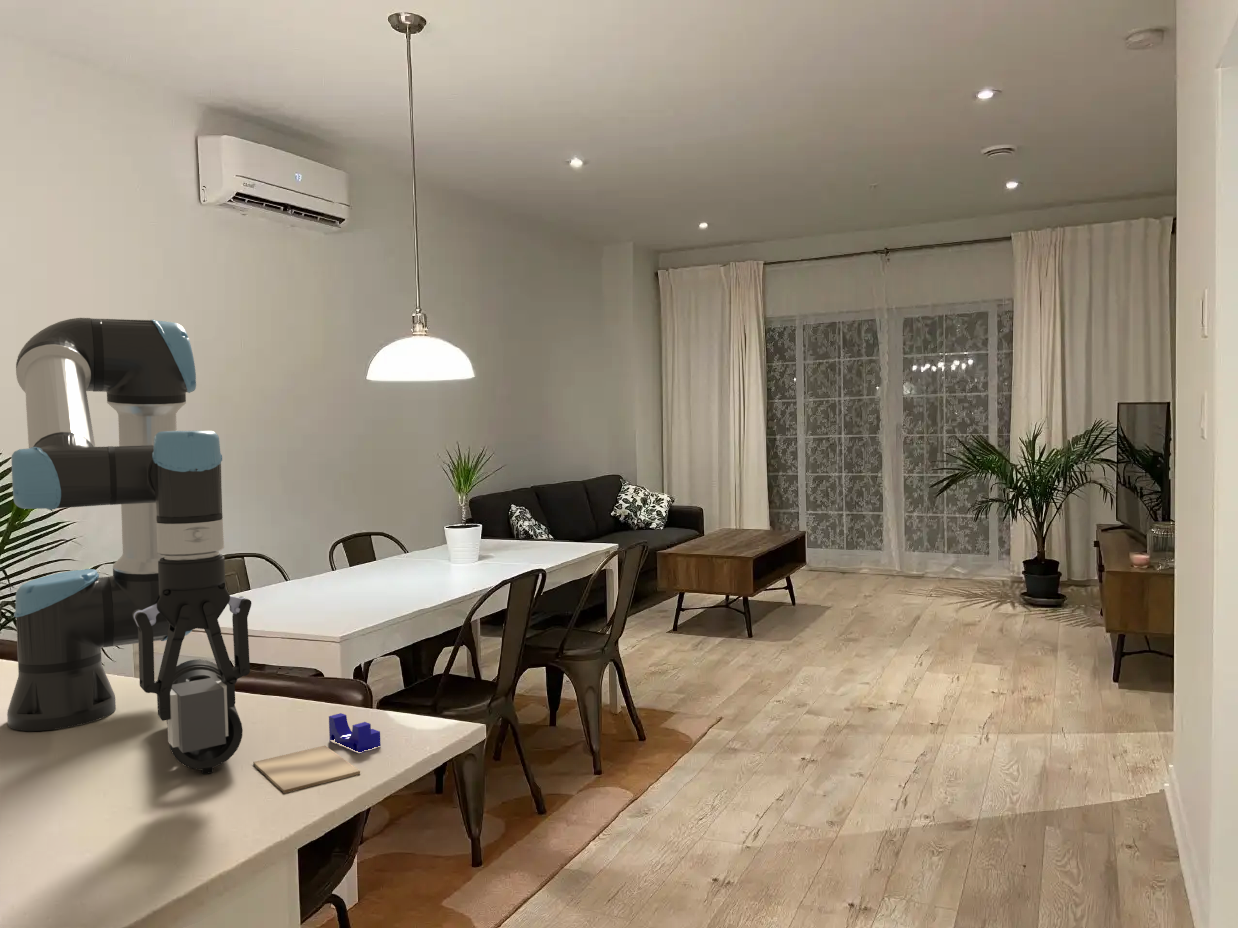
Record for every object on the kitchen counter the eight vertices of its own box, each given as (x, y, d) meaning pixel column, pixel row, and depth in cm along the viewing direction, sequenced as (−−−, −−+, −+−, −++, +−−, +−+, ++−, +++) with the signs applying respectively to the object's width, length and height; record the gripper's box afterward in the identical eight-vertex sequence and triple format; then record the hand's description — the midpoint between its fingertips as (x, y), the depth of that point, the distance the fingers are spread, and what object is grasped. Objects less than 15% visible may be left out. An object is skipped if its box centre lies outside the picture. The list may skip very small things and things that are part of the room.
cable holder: (380, 748, 133) (379, 721, 133) (359, 755, 131) (358, 727, 131) (350, 736, 139) (350, 710, 139) (329, 743, 136) (328, 716, 136)
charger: (168, 736, 118) (166, 682, 118) (209, 727, 121) (207, 674, 121) (182, 752, 112) (180, 696, 112) (225, 743, 115) (223, 688, 115)
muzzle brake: (168, 784, 121) (165, 706, 121) (162, 725, 146) (159, 660, 146) (246, 770, 126) (243, 695, 125) (227, 715, 150) (225, 652, 150)
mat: (253, 764, 127) (253, 761, 127) (325, 748, 133) (324, 745, 133) (284, 793, 117) (283, 790, 117) (360, 773, 123) (360, 770, 123)
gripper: (115, 566, 106) (123, 764, 108) (274, 550, 117) (280, 730, 119) (104, 558, 112) (112, 746, 114) (257, 544, 123) (262, 716, 125)
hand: (198, 738), depth 116 cm, fingers closed on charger, 5 cm apart
